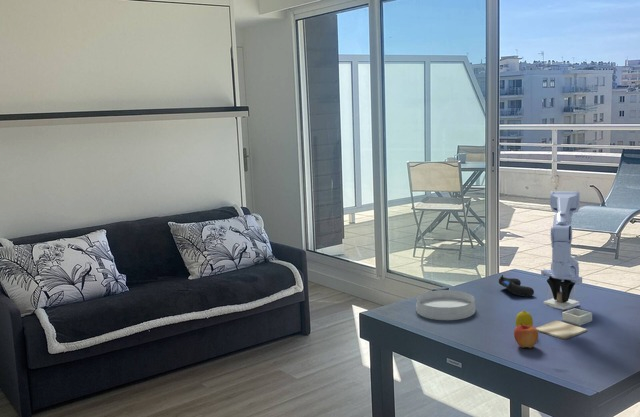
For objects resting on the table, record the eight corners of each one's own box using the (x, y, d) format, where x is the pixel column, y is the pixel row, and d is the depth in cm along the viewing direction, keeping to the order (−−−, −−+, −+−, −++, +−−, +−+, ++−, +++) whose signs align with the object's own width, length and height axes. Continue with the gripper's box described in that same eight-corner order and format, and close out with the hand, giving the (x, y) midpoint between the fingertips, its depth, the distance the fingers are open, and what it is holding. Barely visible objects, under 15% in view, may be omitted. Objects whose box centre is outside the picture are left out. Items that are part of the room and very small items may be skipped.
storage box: (562, 320, 226) (562, 312, 225) (574, 316, 230) (574, 308, 229) (579, 325, 220) (579, 317, 219) (592, 320, 224) (592, 312, 223)
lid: (543, 306, 217) (543, 292, 216) (558, 300, 221) (558, 287, 220) (564, 311, 210) (564, 298, 209) (579, 306, 214) (579, 292, 214)
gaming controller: (513, 291, 270) (493, 281, 268) (520, 279, 269) (500, 269, 268) (530, 303, 253) (508, 292, 252) (537, 291, 253) (516, 280, 251)
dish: (451, 325, 228) (450, 311, 227) (404, 312, 245) (403, 299, 244) (487, 309, 242) (487, 297, 242) (440, 298, 259) (440, 286, 258)
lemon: (524, 337, 212) (524, 314, 211) (512, 332, 217) (512, 310, 216) (536, 334, 214) (536, 311, 213) (524, 329, 219) (524, 307, 218)
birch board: (534, 329, 218) (534, 328, 218) (556, 321, 225) (556, 320, 225) (564, 339, 208) (564, 337, 208) (587, 330, 215) (587, 329, 215)
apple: (540, 351, 200) (540, 327, 199) (515, 351, 201) (515, 327, 200) (536, 342, 207) (536, 319, 206) (512, 342, 208) (512, 319, 207)
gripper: (535, 259, 217) (535, 298, 219) (573, 267, 205) (572, 307, 207) (548, 255, 221) (548, 293, 223) (586, 263, 209) (585, 303, 211)
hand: (561, 300), depth 215 cm, fingers closed on lid, 3 cm apart
